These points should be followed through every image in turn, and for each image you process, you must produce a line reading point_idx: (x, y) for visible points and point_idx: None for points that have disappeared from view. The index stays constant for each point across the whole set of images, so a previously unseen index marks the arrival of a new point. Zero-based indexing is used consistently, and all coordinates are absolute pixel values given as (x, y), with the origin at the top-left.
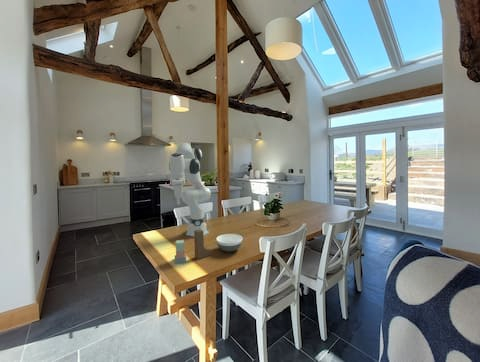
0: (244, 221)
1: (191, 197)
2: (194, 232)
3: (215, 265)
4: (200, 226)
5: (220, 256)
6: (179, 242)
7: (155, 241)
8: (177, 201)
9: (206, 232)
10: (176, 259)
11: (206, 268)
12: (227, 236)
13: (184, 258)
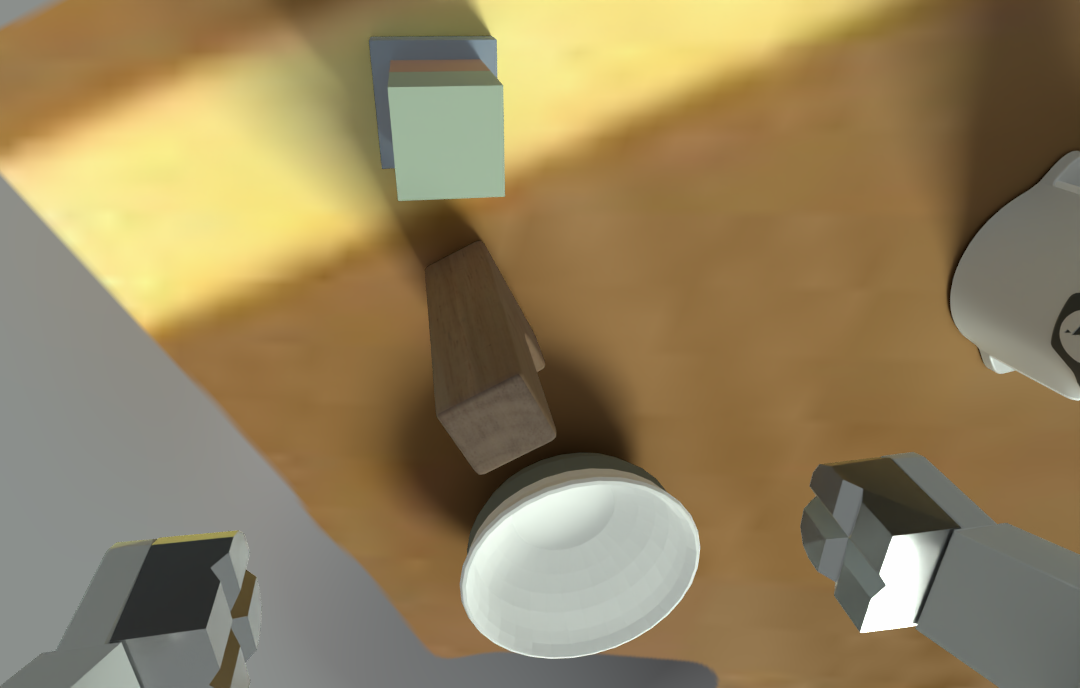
0: None
1: None
2: (503, 364)
3: (282, 397)
4: (1043, 343)
5: (446, 438)
6: (414, 139)
7: None
8: (45, 682)
9: (992, 357)
10: (378, 62)
11: (233, 330)
12: (679, 551)
13: (388, 150)
